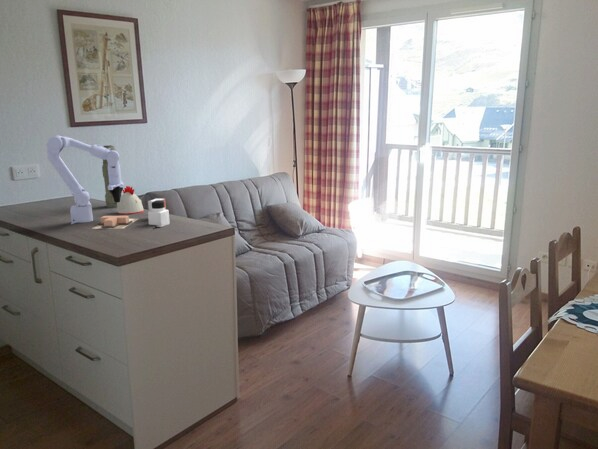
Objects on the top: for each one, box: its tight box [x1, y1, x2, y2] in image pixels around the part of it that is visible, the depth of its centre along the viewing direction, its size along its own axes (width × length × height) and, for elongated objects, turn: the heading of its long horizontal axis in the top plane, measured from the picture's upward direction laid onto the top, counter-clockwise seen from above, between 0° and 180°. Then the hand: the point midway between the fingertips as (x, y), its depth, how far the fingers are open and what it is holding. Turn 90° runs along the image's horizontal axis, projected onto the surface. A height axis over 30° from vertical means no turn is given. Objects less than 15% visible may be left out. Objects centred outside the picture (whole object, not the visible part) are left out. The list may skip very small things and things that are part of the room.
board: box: [91, 218, 139, 230], centre depth 229 cm, size 15×21×2 cm
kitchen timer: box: [116, 185, 144, 215], centre depth 255 cm, size 14×14×15 cm
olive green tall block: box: [101, 145, 123, 209], centre depth 272 cm, size 9×12×35 cm
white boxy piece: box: [147, 198, 167, 212], centre depth 238 cm, size 8×6×10 cm
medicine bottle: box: [147, 200, 171, 228], centre depth 227 cm, size 7×7×12 cm
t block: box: [100, 215, 130, 226], centre depth 225 cm, size 12×10×4 cm
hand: (117, 202), depth 238 cm, fingers closed
